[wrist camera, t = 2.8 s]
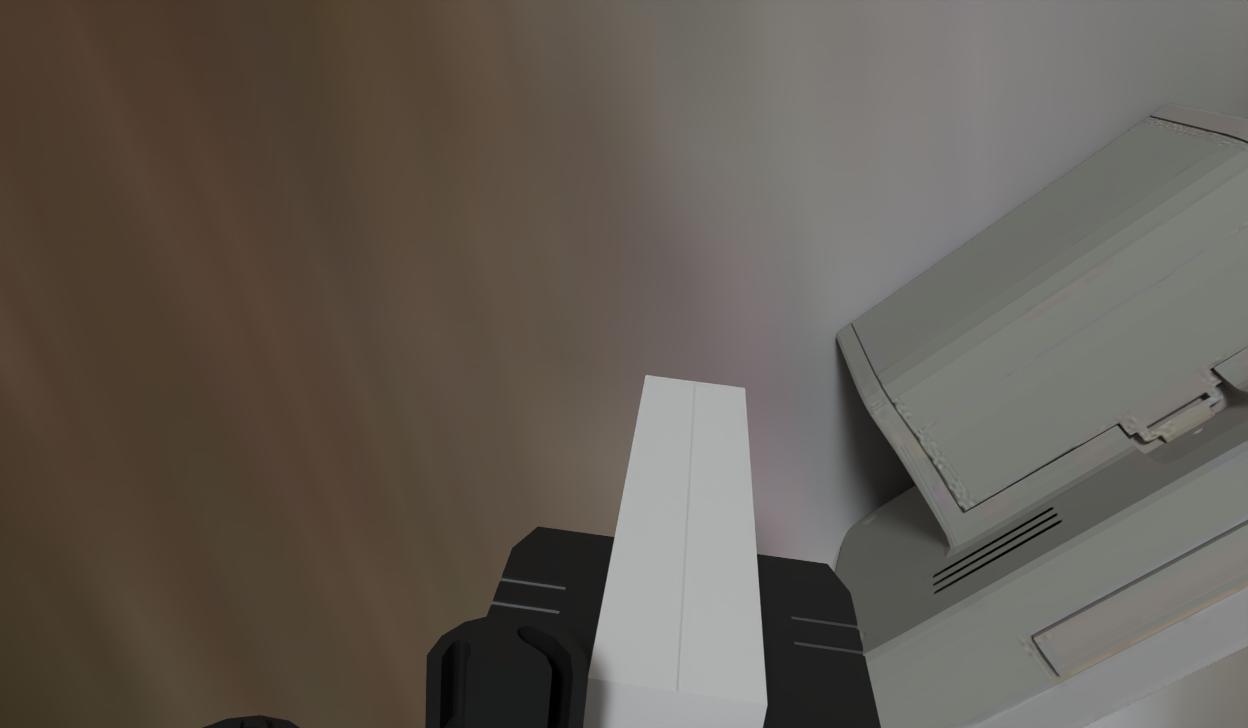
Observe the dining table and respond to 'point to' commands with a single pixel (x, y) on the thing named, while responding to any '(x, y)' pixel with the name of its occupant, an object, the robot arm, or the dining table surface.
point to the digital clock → (1065, 444)
